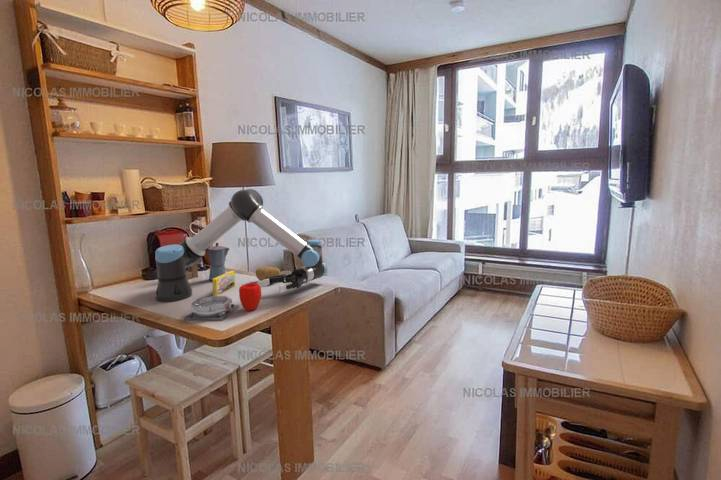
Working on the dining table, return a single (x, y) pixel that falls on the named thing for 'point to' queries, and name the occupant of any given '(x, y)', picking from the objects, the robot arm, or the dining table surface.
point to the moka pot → (216, 260)
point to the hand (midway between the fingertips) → (268, 287)
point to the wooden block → (192, 272)
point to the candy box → (223, 283)
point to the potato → (266, 272)
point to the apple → (250, 296)
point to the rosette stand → (212, 308)
